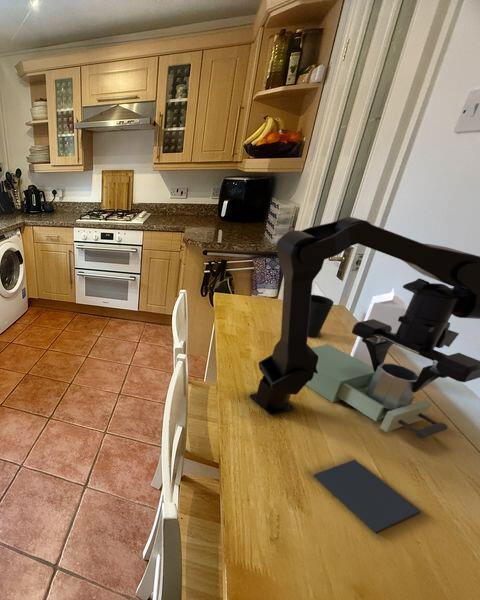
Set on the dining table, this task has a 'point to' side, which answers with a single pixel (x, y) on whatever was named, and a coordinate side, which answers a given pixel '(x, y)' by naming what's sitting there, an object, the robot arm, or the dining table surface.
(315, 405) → the dining table surface
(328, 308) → the cup
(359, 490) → the pad
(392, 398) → the tumbler
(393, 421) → the drawer
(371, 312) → the milk
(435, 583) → the dining table surface
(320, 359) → the sage green angled casing
